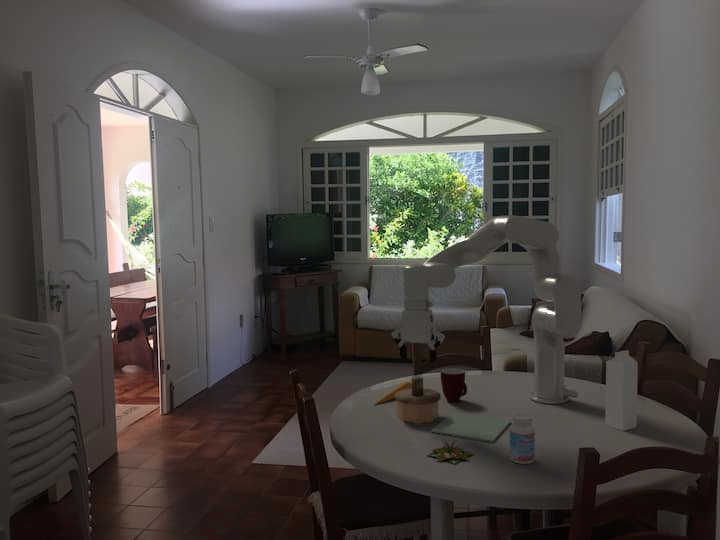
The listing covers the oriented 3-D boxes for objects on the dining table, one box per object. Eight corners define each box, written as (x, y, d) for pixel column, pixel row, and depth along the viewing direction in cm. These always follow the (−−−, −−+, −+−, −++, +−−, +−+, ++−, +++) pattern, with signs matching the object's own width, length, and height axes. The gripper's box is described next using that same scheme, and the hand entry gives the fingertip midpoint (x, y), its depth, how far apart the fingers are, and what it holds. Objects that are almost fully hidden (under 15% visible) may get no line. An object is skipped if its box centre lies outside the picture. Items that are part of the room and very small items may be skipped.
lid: (447, 394, 187) (447, 375, 186) (429, 407, 174) (429, 386, 174) (406, 389, 193) (406, 370, 193) (387, 400, 181) (386, 381, 181)
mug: (476, 402, 198) (475, 372, 197) (459, 407, 193) (459, 377, 192) (451, 395, 206) (451, 367, 205) (435, 400, 201) (435, 371, 200)
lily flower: (483, 456, 154) (482, 438, 153) (457, 471, 145) (456, 452, 145) (444, 444, 162) (444, 428, 162) (417, 458, 153) (417, 441, 153)
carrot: (407, 393, 212) (402, 381, 213) (416, 390, 209) (411, 378, 210) (371, 413, 197) (366, 400, 198) (380, 410, 194) (375, 397, 195)
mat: (510, 422, 177) (510, 420, 177) (492, 442, 162) (492, 440, 162) (453, 414, 186) (453, 412, 186) (430, 432, 170) (430, 430, 170)
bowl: (442, 413, 187) (442, 395, 186) (427, 425, 176) (427, 405, 176) (408, 408, 192) (408, 390, 192) (392, 419, 182) (392, 400, 182)
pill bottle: (521, 466, 146) (521, 421, 145) (504, 458, 151) (504, 414, 150) (540, 461, 148) (540, 417, 148) (522, 453, 154) (522, 410, 153)
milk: (636, 427, 171) (638, 352, 169) (622, 431, 168) (624, 354, 167) (618, 421, 177) (620, 348, 175) (604, 425, 174) (606, 350, 172)
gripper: (447, 304, 181) (449, 360, 182) (396, 302, 189) (398, 355, 191) (438, 308, 174) (440, 366, 176) (385, 306, 183) (387, 361, 184)
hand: (418, 360), depth 183 cm, fingers open, 9 cm apart
